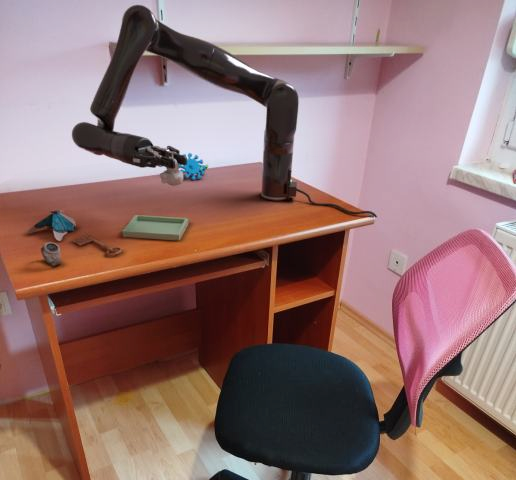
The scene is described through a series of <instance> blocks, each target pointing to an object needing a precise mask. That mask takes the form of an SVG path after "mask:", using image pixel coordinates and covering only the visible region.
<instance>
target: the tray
mask: <svg viewBox="0 0 516 480" xmlns="http://www.w3.org/2000/svg"><path fill="white" fill-rule="evenodd" d="M189 224H190V223H189V218H187V217H175V216H173V217H171V216H157V215H146V214H145V215H143V214H142V215H141V214H135V215H134V216H133V218H131V219H130V221H129V222H128V223H127V225H126V226H124V228H123V229H122V231H121V232H122V237H123V238H137V239H148V240H149V239H151V240H163V241H165V240H166V241H178V242H179V241H181V239H182V236H183V235H184V233H185V231H186V229H187V228H188V226H189Z"/></svg>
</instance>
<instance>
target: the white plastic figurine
mask: <svg viewBox="0 0 516 480" xmlns="http://www.w3.org/2000/svg"><path fill="white" fill-rule="evenodd" d="M169 158H171V159H174V158H173V153H172V157H169ZM174 160H175V168H174V169H171V168H168V167H165V168H166V170H164V171H162V172H160V173H159V177H160V179H161V181H160V183H162V184H168V185H169V186H172V187H176V186H179V185H182V183H183V181H184V173H182V172H181V171H180V170H181V169H180V168H179V165H180V164H179V163H177V160H176V159H174Z"/></svg>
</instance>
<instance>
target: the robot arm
mask: <svg viewBox="0 0 516 480" xmlns="http://www.w3.org/2000/svg"><path fill="white" fill-rule="evenodd" d="M145 52H148V53H151V54H153V55H156V56H159V57H161V58H163V59H166V60H168V61H170V62H172V63H173V64H175V65H176V66H178V67H180V68H182V69H183V70H184V71H186V72H187V73H190V74H191V75H193V76H195V77H197V78H199V79H200V80H203V81H204V82H206V83H209V84H210V85H212V86H216V87H217V88H220V89H222V90H226V91H229V92H231V93H237V94H241V95H243V96H245V97H248V98H250V99H251V100H254V102H257V103H258V104H260V105H261V106H263V107H264V108H266V113H265V116H266V117H265V129H264V131H263V132H264V133H263V148H262V149H263V151H262V174H261V175H262V176H261V193H260V196H261V197H262V198H263V199H265V200H269V201H277V202H279V201H280V202H281V201H290V198H291V197H292V198H295V197H297V192H298V193H300V194H302V195H304V196H306V198H307V199H308V202H309V203H310V204H312V205H314V206H321V207H326V206H327V207H328V206H329V207H335V208H338V209H339V210H341V211H343V212H345V213H348V214H350V215H362V214H363V215H364V214H370V215H372V216H373V217H374V218H378V215H377V214H375V212H373V211H370V210H361V211H360V210H359V211H352V210H349V209H347V208H345V207H344V206H341V205H339V204H337V203H336V204H335V203H326V202H323V203H320V202H315V201H313V200H312V199H311V196H310V195H309V194H308V193H307V192H306V191H303V190H302V189H299V188H298V182H297V181H292V173H293V157H294V143H295V135H296V132H297V127H298V126H297V125H298V116H299V105H300V104H299V103H300V102H299V101H300V100H299V94H298V91H297V89H296V88H295V87H294V85H292V84H291V83H289V81H286V80H283V79H280V78H277V77H274V76H271V75H270V74H266V73H264V72H262V71H260V70H258V69H255V68H254V67H252V66H251V65H249V64H248V63H247V62H245V61H243V60H242V59H241V58H239V57H237V56H236V55H234V54H232V53H231V52H229V51H227V50H225V49H224V48H222V47H220V46H218V45H216V44H214V43H211V42H210V41H207V40H204V39H201V38H198V37H195V36H191V35H188V34H185V33H182V32H179V31H176V30H174V29H173V28H171V27H170V26H168V25H166V24H164V23H163V22H161V21H160V20H159V19H157V18H156V16H155V14H154V13H153V12H152V11H151V10H150V8H149V7H146V6H145V5H142V4H134V5H131V6H129V7H128V8H127V9H126V10H125V11H124V13H123V15H122V18H121V25H120V29H119V34H118V38H117V41H116V44H115V47H114V51H113V54H112V57H111V59H110V61H109V64H108V66H107V68H106V69H105V72H104V75H103V76H102V79H101V81H100V83H99V85H98V87H97V90H96V92H95V94H94V96H93V99H92V102H91V104H90V107H89V111H90V114H92V115H93V116H94V117H95V118H96V120H97V125H96V124H93V123H90V122H87V121H81V122H78V123H76V125H74V126H73V128H72V130H71V139H72V141H73V143H74V145H75V146H76V147H78V148H79V149H81V150H83V151H87V152H89V153H91V154H93V155H95V156H105V157H108V158H110V159H114V160H117V161H119V162H121V163H124V164H127V165H130V166H135V167H137V168H141V169H143V168H153V169H155V168H157V167H159V168H163V167H165V168H166V167H168V168H171V169H174V168H175V160H174V159H176V160H177V163H179V164H181V165H182V166H183V165H187V159H188V156H187V155H186V156H184V155H183V154H180V153H181V152H180V150H179V149H177V148H176V147H173V146H171V145H167V146H166V147H161V146H159V145H154V144H153V142H152V141H151V140H150V139H149V138H147V137H144V136H140V135H136V134H132V133H126V132H119V131H116V130H114V129H115V123H116V119H117V117H118V115H119V112H120V110H121V107H122V105H123V103H124V102H125V101H124V100H125V98H126V96H127V92H128V90H129V87H130V84H131V80H132V77H133V75H134V72H135V70H136V68H137V66H138V64H139V62H140V60H141V58H142V57H143V55H144V53H145ZM172 153H173V158H174V159H171V158H169V157H172Z"/></svg>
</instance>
